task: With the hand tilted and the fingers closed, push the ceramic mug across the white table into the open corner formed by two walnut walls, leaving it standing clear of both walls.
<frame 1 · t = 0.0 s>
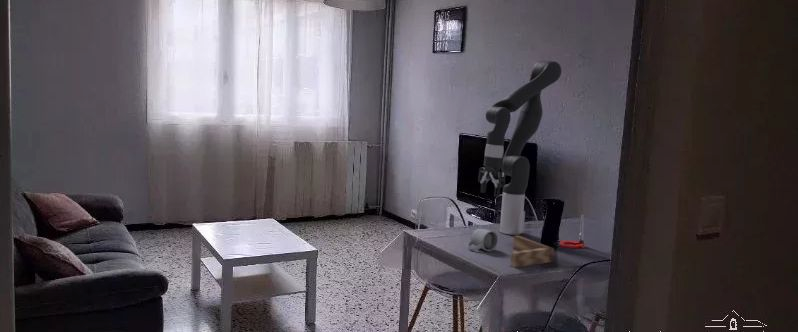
hand: (489, 194, 249), 17 cm above the table, tool pointing down, fingers open, 8 cm apart
corner walls: (512, 257, 221), on the table
ceramic mug: (480, 249, 230), on the table
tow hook: (571, 246, 242), on the table
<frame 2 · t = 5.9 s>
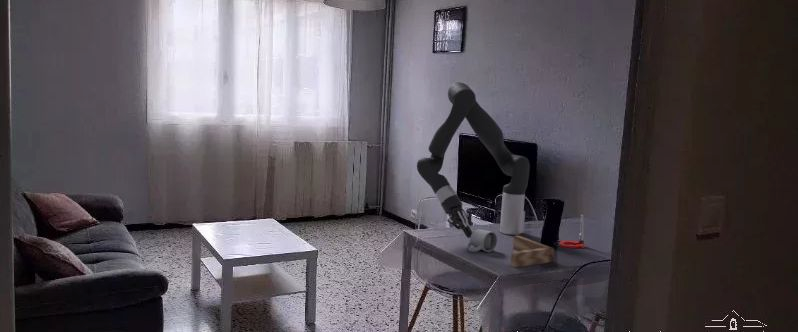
hand: (470, 236, 231), 4 cm above the table, tool tilted 45°, fingers closed
ceramic mug: (480, 250, 228), on the table, touching gripper
everything else where it was.
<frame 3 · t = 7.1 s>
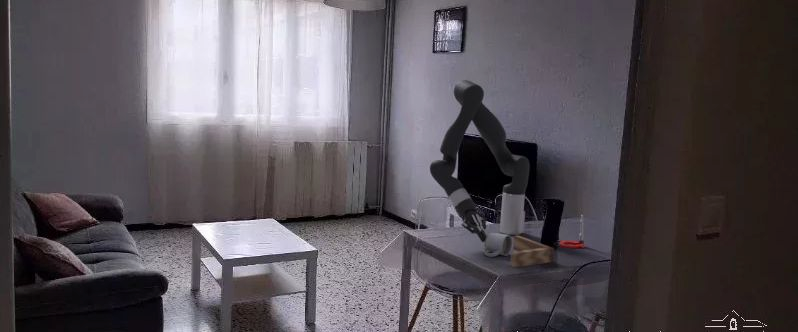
hand: (485, 241, 226), 4 cm above the table, tool tilted 45°, fingers closed
ceramic mug: (496, 254, 223), on the table, touching gripper
everything else where it was.
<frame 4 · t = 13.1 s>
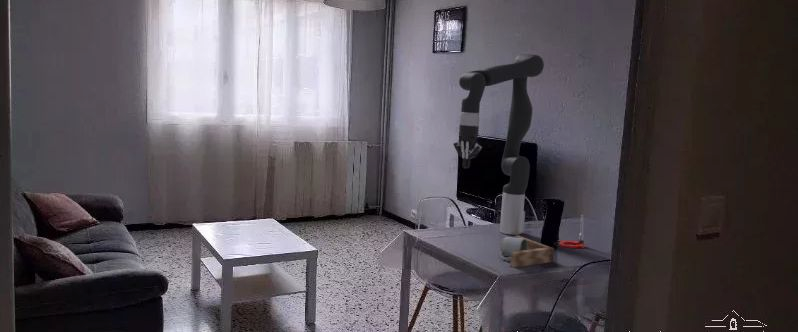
hand: (466, 167, 238), 29 cm above the table, tool pointing down, fingers closed
ceramic mug: (512, 258, 220), on the table
everything else where it was.
at the end: ceramic mug inside the target area (2.3 cm from its centre), on the table; ceramic mug touching table; ceramic mug tilted 0° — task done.
